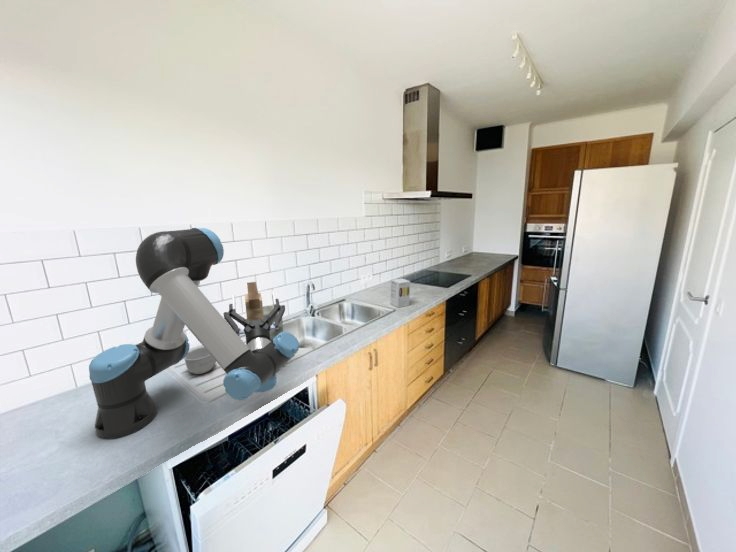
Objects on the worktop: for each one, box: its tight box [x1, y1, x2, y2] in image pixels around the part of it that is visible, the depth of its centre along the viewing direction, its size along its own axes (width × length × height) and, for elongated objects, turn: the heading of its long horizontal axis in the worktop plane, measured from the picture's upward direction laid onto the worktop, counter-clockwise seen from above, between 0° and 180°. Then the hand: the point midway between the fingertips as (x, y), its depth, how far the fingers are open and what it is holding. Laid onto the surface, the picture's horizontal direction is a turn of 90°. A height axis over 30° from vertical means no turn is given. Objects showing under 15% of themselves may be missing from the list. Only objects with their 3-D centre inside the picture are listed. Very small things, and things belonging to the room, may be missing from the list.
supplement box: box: [389, 278, 411, 308], centre depth 197 cm, size 10×9×17 cm
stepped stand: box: [244, 292, 287, 368], centre depth 123 cm, size 13×10×30 cm
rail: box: [246, 281, 260, 309], centre depth 116 cm, size 4×24×4 cm, turn 23°
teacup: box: [183, 346, 217, 375], centre depth 122 cm, size 14×11×8 cm
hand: (253, 295), depth 110 cm, fingers open, 13 cm apart
